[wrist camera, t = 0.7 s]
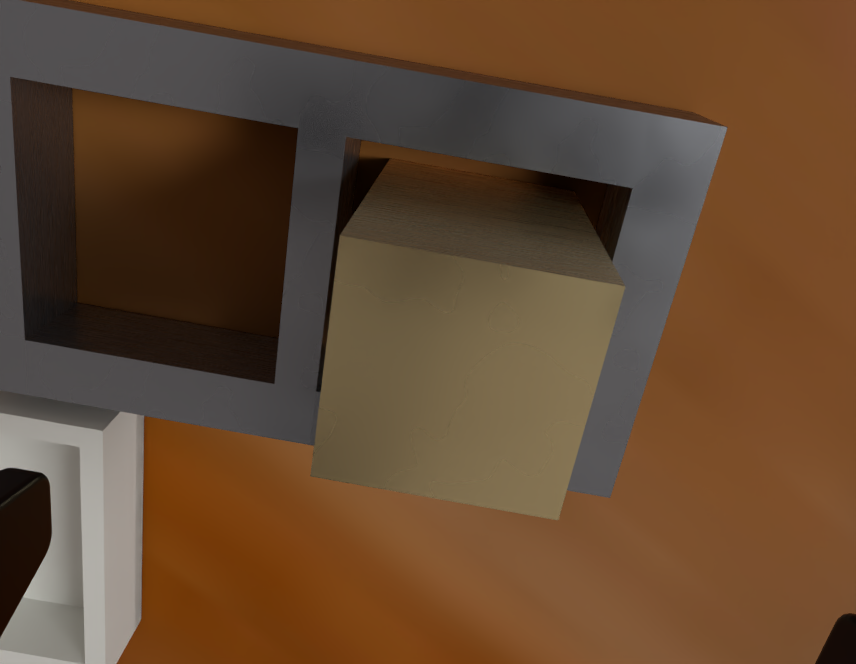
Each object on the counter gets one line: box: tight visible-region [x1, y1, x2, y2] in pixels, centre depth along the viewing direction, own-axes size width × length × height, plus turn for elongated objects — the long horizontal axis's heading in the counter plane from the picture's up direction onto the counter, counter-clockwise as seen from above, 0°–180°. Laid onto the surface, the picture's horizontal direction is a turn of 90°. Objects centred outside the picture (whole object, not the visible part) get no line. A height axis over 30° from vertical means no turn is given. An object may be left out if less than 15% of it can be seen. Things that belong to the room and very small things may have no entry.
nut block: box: [311, 158, 625, 520], centre depth 16 cm, size 4×4×7 cm
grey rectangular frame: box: [0, 0, 727, 498], centre depth 18 cm, size 9×16×2 cm, turn 81°
